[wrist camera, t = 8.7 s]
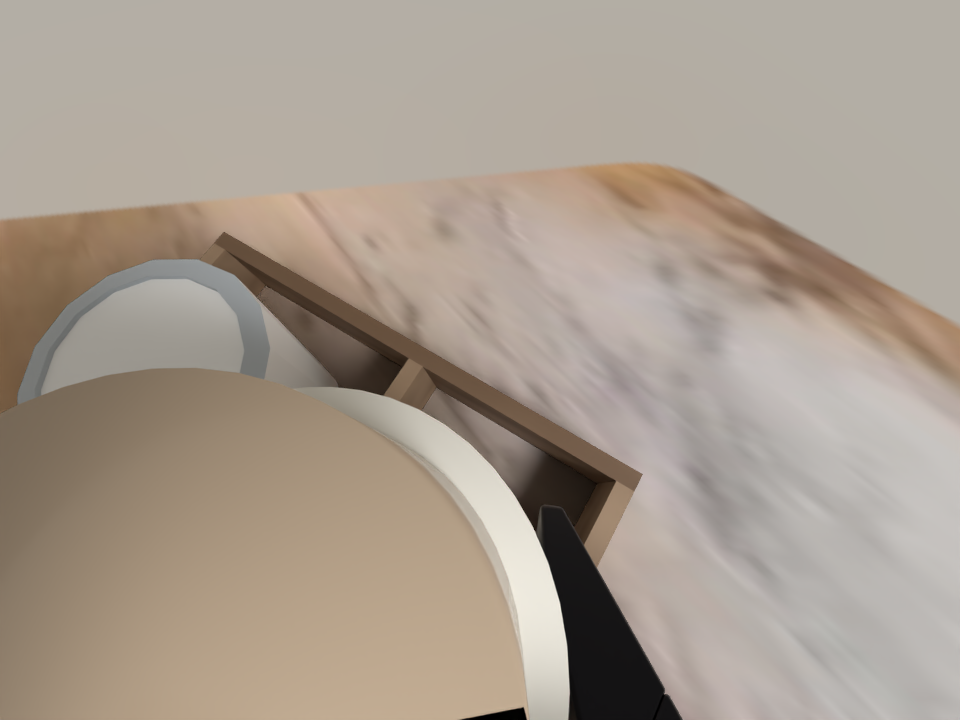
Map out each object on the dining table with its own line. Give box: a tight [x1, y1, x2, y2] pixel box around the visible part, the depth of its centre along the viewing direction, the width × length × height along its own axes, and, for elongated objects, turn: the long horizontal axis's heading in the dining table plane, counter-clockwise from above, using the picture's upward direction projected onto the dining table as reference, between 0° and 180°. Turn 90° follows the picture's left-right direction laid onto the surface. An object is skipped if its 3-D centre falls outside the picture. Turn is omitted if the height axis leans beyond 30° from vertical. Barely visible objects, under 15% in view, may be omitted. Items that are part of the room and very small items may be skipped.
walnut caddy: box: [200, 232, 643, 567], centre depth 15 cm, size 10×18×3 cm, turn 58°
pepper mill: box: [0, 368, 570, 720], centre depth 8 cm, size 5×5×13 cm
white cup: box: [17, 259, 338, 404], centre depth 14 cm, size 7×7×7 cm
